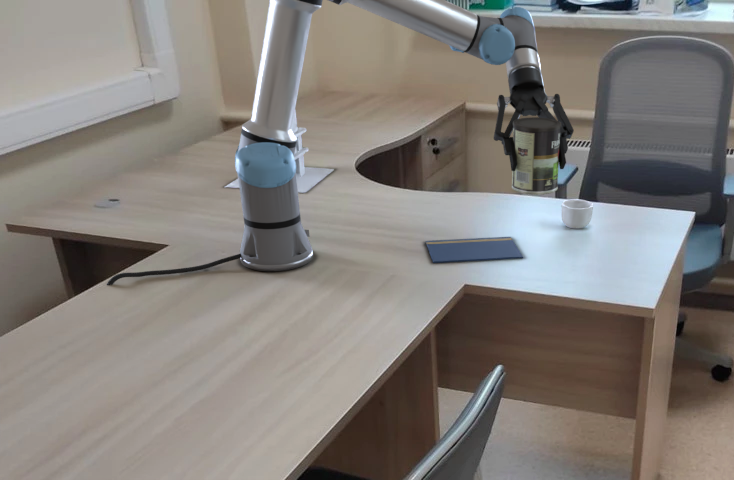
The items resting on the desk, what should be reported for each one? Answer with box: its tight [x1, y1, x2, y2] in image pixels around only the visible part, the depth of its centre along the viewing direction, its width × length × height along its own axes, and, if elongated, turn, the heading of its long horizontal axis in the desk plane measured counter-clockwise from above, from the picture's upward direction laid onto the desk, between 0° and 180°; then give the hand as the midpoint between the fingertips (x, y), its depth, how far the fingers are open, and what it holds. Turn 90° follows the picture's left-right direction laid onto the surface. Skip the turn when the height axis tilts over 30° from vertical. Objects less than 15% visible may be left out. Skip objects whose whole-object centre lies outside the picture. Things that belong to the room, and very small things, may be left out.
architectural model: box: [224, 109, 336, 194], centre depth 231 cm, size 23×24×18 cm
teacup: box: [560, 198, 594, 230], centre depth 205 cm, size 10×8×5 cm
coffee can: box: [511, 116, 561, 196], centre depth 182 cm, size 10×10×14 cm
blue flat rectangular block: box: [425, 236, 524, 264], centre depth 189 cm, size 20×13×1 cm, turn 102°
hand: (538, 166), depth 180 cm, fingers closed on coffee can, 10 cm apart
